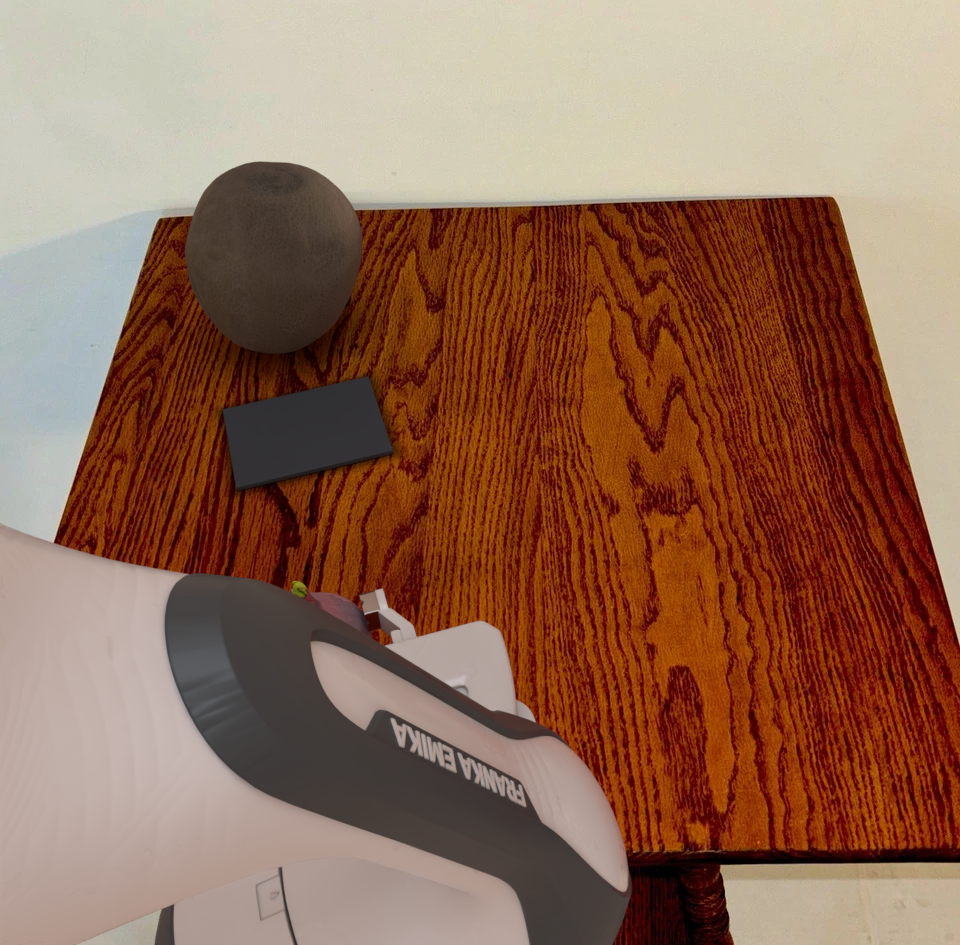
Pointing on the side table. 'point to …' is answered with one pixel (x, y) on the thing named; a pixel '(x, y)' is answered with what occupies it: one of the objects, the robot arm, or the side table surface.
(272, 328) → the coconut
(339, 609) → the vegetable
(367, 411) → the mat
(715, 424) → the side table surface
